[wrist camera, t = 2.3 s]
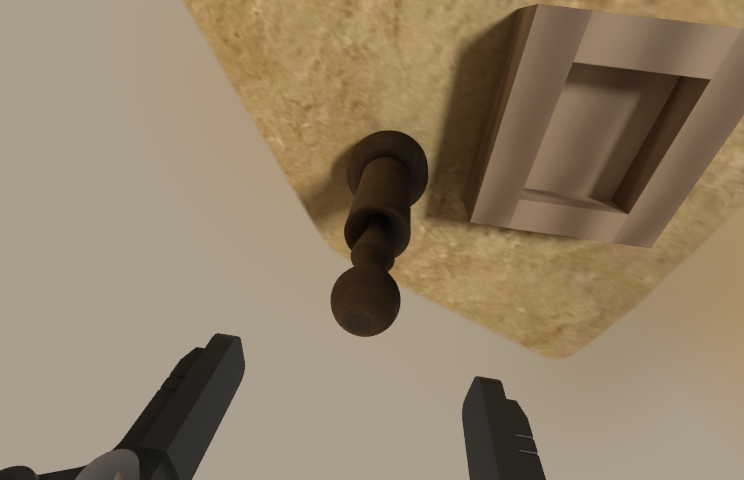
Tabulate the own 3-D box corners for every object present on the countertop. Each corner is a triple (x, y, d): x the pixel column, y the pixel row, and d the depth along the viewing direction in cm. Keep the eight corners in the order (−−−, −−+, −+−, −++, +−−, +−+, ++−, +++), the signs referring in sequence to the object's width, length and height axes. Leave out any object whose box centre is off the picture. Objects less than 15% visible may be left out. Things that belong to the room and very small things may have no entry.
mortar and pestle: (359, 206, 30) (307, 376, 15) (342, 137, 27) (254, 267, 12) (431, 196, 29) (452, 371, 14) (422, 122, 26) (436, 247, 11)
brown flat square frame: (462, 198, 29) (470, 222, 25) (516, 9, 22) (538, 3, 18) (619, 220, 29) (650, 248, 25) (730, 35, 21) (799, 35, 17)
